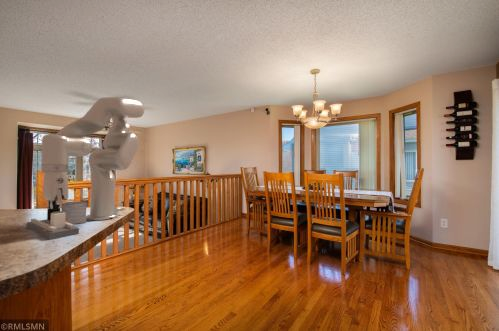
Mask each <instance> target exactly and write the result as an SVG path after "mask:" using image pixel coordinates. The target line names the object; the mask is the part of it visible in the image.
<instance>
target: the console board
mask: <svg viewBox="0 0 499 331" xmlns="http://www.w3.org/2000/svg"><path fill="white" fill-rule="evenodd" d="M50 224H51V221H49V220H47V219H41V220H38V219H36V218H31V219H30V221H27V222H26V225H25V228H26V229H28V230H30V231H33V233H36V234H38V235H40V236H42V237H44V238H46V239H48V240H54V239H55V240H56V239H60V238H64V237H71V236H74V235H79V234H80V228H79V227H77V226H75V224H71V223H69V222H65V227H63V228H56V227H53V226H52V225H50Z"/></svg>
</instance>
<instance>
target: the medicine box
mask: <svg viewBox="0 0 499 331" xmlns="http://www.w3.org/2000/svg"><path fill="white" fill-rule="evenodd" d="M60 211H63V212H64V213H66V216H65V222H69V223H71V224H73V225H77V224H78V225H79V224H85V223H87V219H86V216H87V202H86V201H70V202H62V204H61V208H60Z"/></svg>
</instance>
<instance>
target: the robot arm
mask: <svg viewBox="0 0 499 331" xmlns="http://www.w3.org/2000/svg"><path fill="white" fill-rule="evenodd" d="M144 114H145V108H144V105H143V104H142V103H141V102H140V101H139V100H137V99H131V98H126V97H121V96H120V97H119V96H116V97H114V96H111V97H105V96H104V97H100V98H99V99H97V100H96V101H95V102H94V104H93V105H92V106H91V107H90V108H89V110H88V111H87V112H86V113H85V114H84V115H83V116H81V117H80V118H78V119H76V120H74V121H72V122H71V123H69V124H67V125H65V126H63V128H62V127H61V129H60V130H59V131H58V132H57V133H56V134H44V135H43V136H42V138H41V159H40V160H41V163H40V164H41V165H40V166H41V167H40V169H41V170H40V173H41V174H43V179H42V180H43V184H42V199H44V200H45V201H46V202H47V205H46V206H47V207H46V208H47V212H46V213H47V214H46V215H47V217H46V220H49V221H51V213H53V212H58V211H61V206H62V203H63V201H68V199H69V180H68V174H69V161H70V160H69V157H85V156H88V165H89V170H90V200H89V201H90V205H89V207H90V209H89V211H90V212H89V214H86V221H89V220H90V221H105V220H111V219H110V218H112V219H115V218H118V217H119V212H123V211H126V207H125V206H120V207H119V206H115V204H116V175H114V173H113V171H125V170H127V169H128V168H129V167H130V165H131V163H132V162H133V160H134V157H135V156H136V153H137V151H138V149H139V144H140V141H139V137H138V136H137V135H136V134H135V133H133V132H131V126H130V124H129V122H128V121H127V119H128V118H130V119H131V118H133V119H134V118H135V119H137V118H141V117H142V116H143V115H144ZM110 120H112V125H111V127H110V128H109V130H108V132H107V133H106V135H105V137H104V139H103V141H102V146H103V149H96V150H93V145H92V142H90V140H89V139H87V138H85V136H89V135H92V134H95V133H96V134H97V133H98V132H100V131H103V130H104V129H105V127H106V126H107V125H108V123H109V121H110ZM92 150H93V151H92Z"/></svg>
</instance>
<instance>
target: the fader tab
mask: <svg viewBox="0 0 499 331" xmlns="http://www.w3.org/2000/svg"><path fill="white" fill-rule="evenodd" d="M65 216H66V213H64V212H63V211H61V210H60V211H58V212H53V213H51V224H50V225H52V226H53V227H56V228H63V227H65Z"/></svg>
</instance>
